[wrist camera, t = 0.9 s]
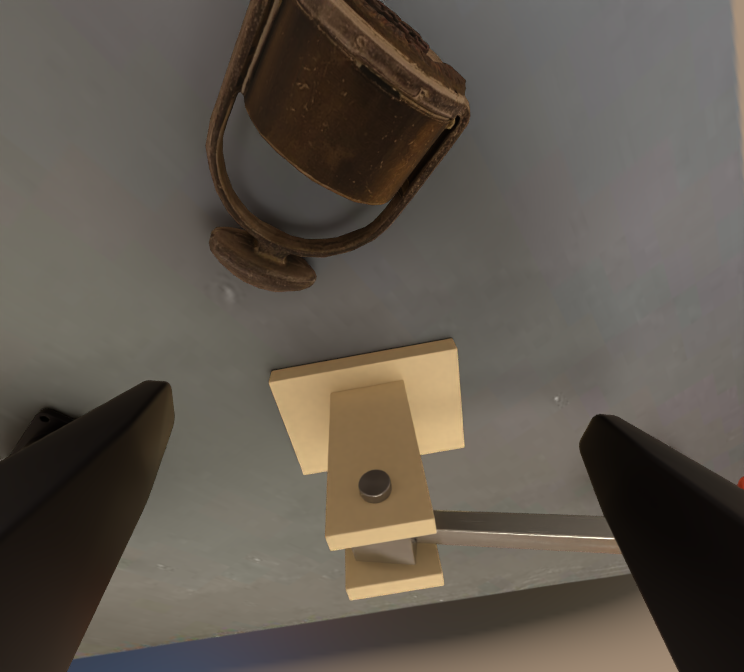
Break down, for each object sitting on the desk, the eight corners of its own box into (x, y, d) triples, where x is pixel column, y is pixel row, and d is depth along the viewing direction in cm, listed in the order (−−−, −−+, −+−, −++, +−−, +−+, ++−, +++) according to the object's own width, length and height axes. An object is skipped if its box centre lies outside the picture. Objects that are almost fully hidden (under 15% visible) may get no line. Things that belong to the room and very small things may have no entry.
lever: (768, 462, 15) (819, 523, 13) (723, 554, 18) (757, 615, 16) (348, 459, 18) (336, 505, 16) (370, 536, 21) (362, 583, 19)
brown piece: (559, 181, 14) (429, -218, 8) (289, 386, 16) (22, 199, 10) (467, 139, 20) (348, -116, 13) (274, 296, 22) (95, 140, 16)
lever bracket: (452, 337, 24) (519, 479, 15) (460, 434, 28) (516, 591, 19) (271, 370, 24) (230, 528, 15) (305, 461, 28) (288, 628, 19)
